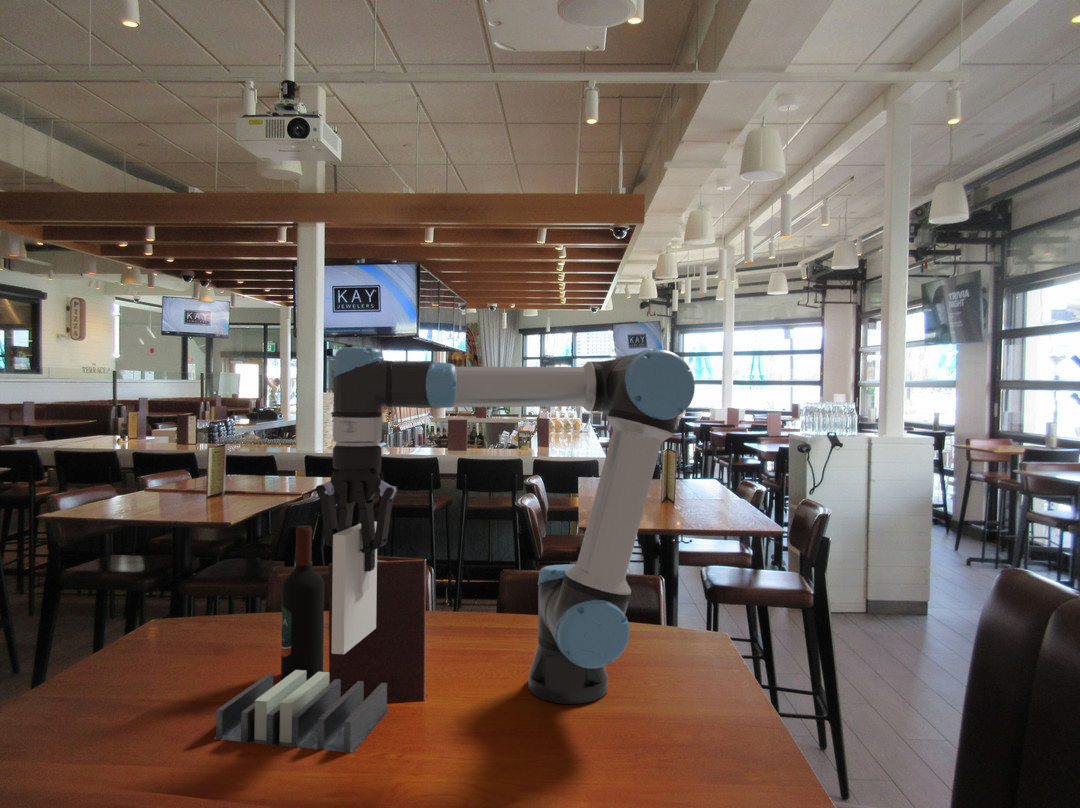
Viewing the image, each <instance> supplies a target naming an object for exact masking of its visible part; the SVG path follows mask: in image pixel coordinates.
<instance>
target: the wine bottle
mask: <svg viewBox="0 0 1080 808" xmlns="http://www.w3.org/2000/svg"><path fill="white" fill-rule="evenodd" d="M295 536H296V539H295V540H296V542H295V543H296V544H295V546H296V549H295V566H294V570H293V571H292V572H291V573H290V574H289V575H287V577H286V578H285V580H284V581H283V583H282V588H281V642H280V643H281V647H280V648H281V649H280V651H281V653H280V656H281V657H280V658H281V659H280V681H281V680H283V679H284V678H285V677H287V676H288V675H289V674H291V673H292V672H293V671H295V670H305V671H307V673H306V681H307V680H309V679H310V678H311V677H312V676H314V675H315V674H316V673H317V672H324V645H325V643H324V637H325V636H324V633H325V631H324V630H325V624H324V623H325V622H324V621H325V619H324V618H325V581H324V579H323V577H322V576H321V574H319V573H318V572H317V571H315V570H314V569H313V565H312V543H313V542H312V541H313V539H312V536H313V529H312V525H300V526H296V530H295Z"/></svg>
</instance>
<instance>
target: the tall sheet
mask: <svg viewBox="0 0 1080 808" xmlns="http://www.w3.org/2000/svg"><path fill="white" fill-rule="evenodd" d="M374 524H375V533H376V526H377V521H374ZM361 549H363V542H362V530H361V523H358V524H356V525H354V526H353V525H352V527H351V528H348V529H346V530H343V531H341V532H338V533H336V534H334V535H333V547H332V579H331V580H332V585H331V586H332V589H331V590H332V591H331V592H332V593H331V594H332V596H331V597H332V598H331V607H332V608H331V654H334V655H345V654H346V653H348V652H349V651H350V650H351V649H353V648H354V647H355V646H356V645H358V643H360V642H361V641H362V640H363V639H365V638H366V637H368V635H369V634H371V633H372V632H374V630H376V629H377V592H378V591H377V589H378V588H377V584H378V583H377V582H378V580H377V579H378V578H377V577H378V574H377V573H378V548H377V549H376V550H375V567H374V570H372V571H370V582H369V590H367V591H366V592H364V593H363V594H359V593H358V552H360V551H361Z"/></svg>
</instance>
